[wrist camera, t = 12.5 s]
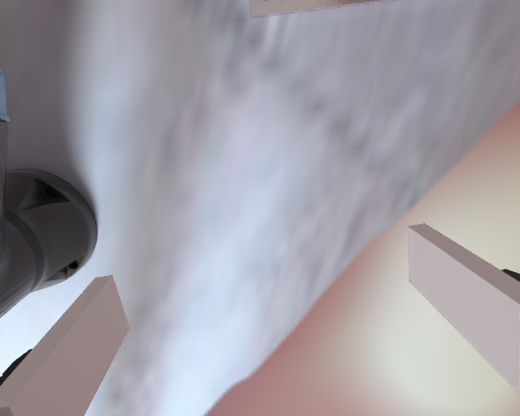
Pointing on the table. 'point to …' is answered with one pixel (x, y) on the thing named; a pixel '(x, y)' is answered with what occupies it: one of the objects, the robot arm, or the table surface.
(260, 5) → the shaft bed
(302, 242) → the table surface
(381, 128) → the table surface
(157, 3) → the table surface
